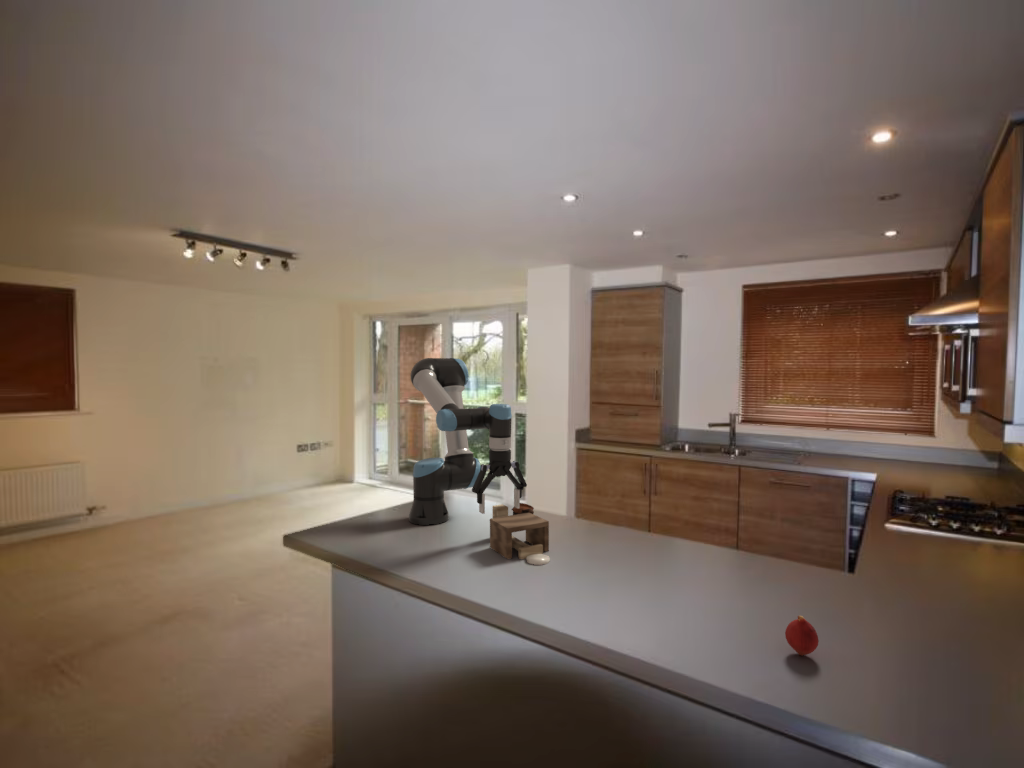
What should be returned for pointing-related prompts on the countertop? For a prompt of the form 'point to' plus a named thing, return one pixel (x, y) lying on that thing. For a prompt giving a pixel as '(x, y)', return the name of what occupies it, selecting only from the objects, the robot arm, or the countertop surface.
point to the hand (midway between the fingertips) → (499, 510)
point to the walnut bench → (506, 525)
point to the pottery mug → (523, 509)
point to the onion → (801, 636)
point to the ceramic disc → (538, 559)
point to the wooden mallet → (522, 547)
